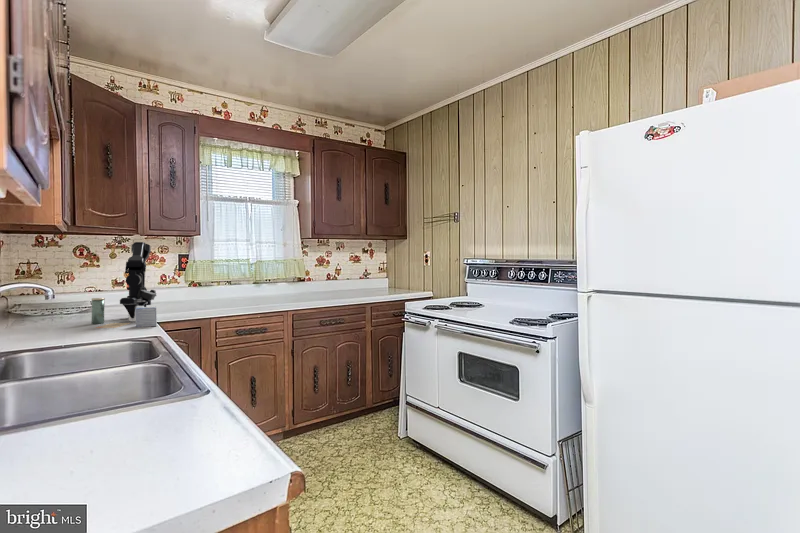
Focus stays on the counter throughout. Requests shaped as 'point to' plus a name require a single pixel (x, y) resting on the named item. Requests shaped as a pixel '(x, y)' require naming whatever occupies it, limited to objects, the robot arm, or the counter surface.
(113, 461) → the counter surface
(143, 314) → the medicine box
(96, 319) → the tea tin
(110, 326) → the kraft envelope
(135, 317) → the shot glass
